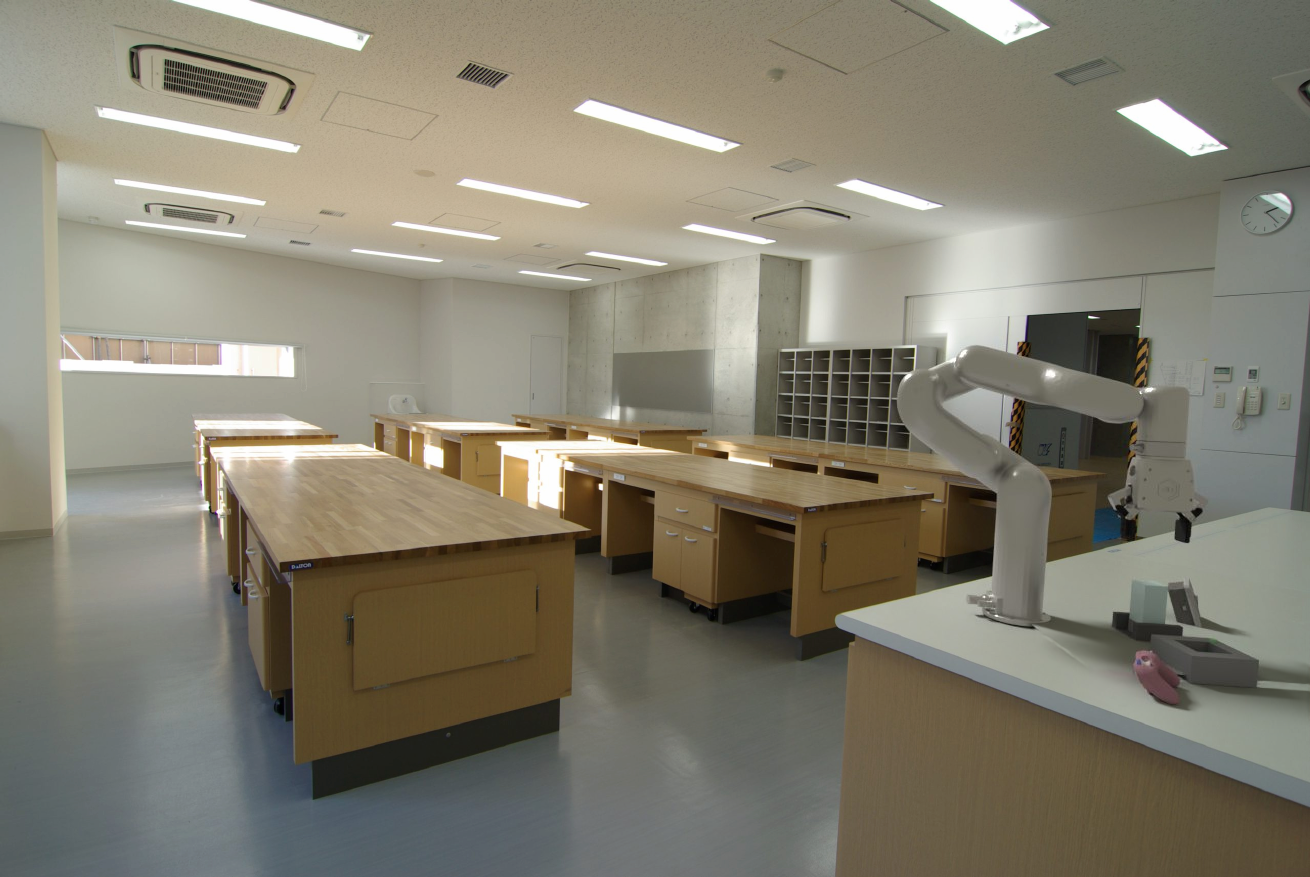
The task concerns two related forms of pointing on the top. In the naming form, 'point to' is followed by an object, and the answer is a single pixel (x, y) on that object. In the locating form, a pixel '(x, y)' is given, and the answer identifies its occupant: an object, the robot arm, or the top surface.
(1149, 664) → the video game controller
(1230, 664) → the port
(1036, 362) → the robot arm
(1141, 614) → the plug
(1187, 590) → the electrical switch
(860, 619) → the top surface
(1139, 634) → the dark grey flanged block
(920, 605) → the top surface
